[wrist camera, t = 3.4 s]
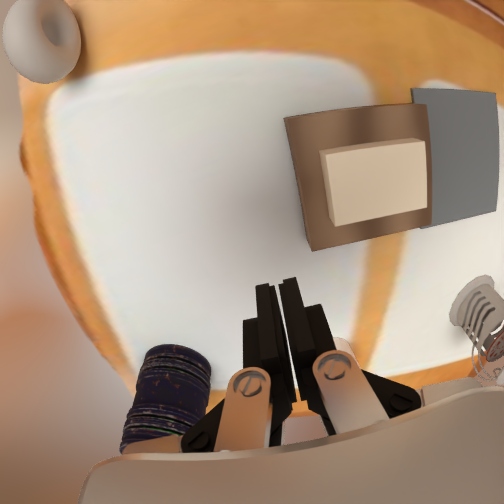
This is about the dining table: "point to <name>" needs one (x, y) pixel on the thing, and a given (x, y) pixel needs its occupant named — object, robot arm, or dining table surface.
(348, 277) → the dining table surface
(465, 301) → the french press
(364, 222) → the walnut board
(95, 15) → the dining table surface
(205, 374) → the storage jar
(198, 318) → the dining table surface
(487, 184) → the slate mat
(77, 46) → the donut
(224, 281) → the dining table surface
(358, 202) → the cream tile
